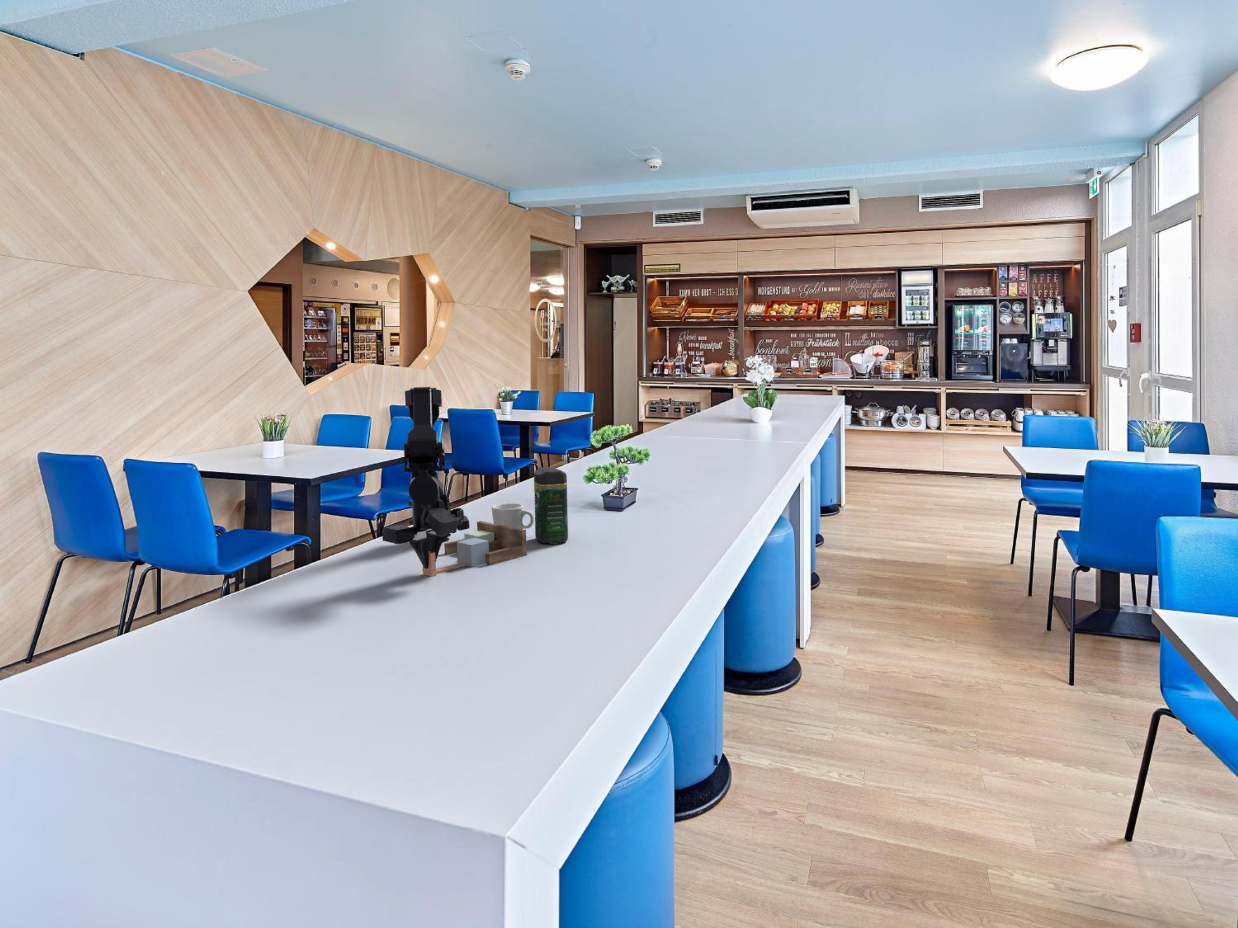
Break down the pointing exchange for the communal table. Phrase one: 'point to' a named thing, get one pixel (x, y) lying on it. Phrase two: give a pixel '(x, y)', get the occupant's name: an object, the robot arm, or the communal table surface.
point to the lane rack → (498, 543)
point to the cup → (511, 515)
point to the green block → (480, 535)
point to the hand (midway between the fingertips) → (429, 567)
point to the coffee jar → (550, 505)
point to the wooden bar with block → (462, 556)
